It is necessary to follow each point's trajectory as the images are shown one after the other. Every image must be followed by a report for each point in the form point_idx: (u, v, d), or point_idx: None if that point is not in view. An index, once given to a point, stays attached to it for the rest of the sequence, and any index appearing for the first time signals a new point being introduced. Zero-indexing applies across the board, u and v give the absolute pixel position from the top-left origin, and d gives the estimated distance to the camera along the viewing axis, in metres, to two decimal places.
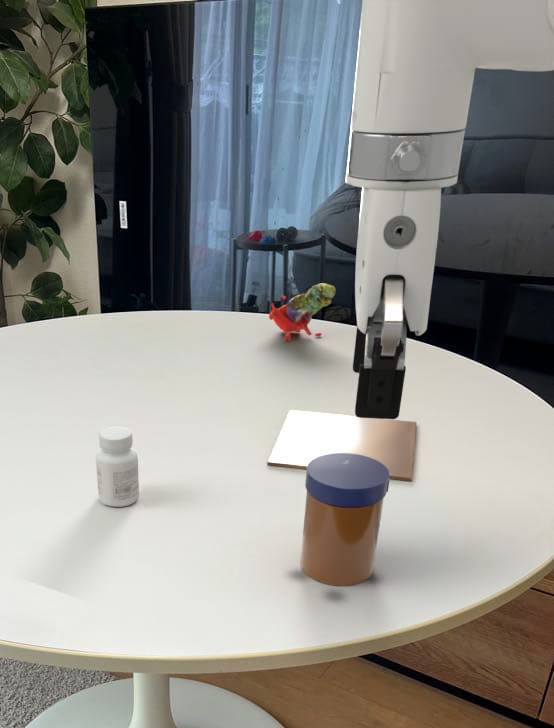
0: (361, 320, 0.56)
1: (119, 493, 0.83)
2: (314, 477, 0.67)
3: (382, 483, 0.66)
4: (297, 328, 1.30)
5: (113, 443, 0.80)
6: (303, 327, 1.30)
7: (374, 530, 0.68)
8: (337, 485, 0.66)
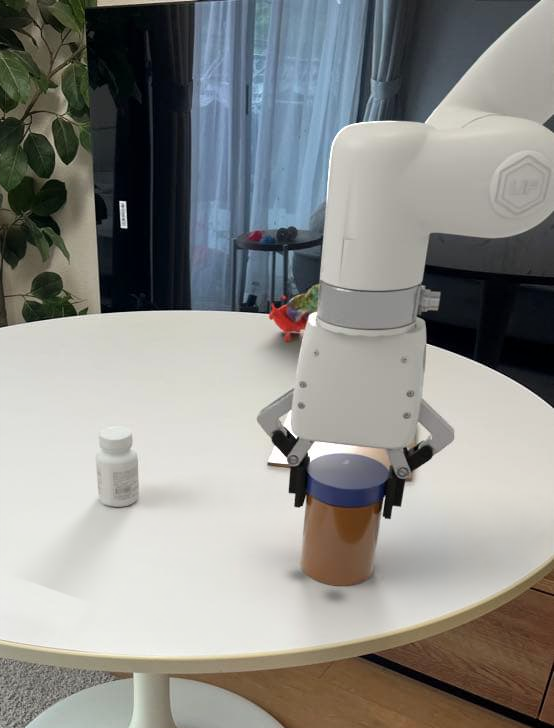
0: (410, 438, 0.63)
1: (119, 493, 0.83)
2: (314, 477, 0.67)
3: (382, 483, 0.66)
4: (297, 328, 1.30)
5: (113, 443, 0.80)
6: (303, 327, 1.30)
7: (374, 530, 0.68)
8: (337, 485, 0.66)
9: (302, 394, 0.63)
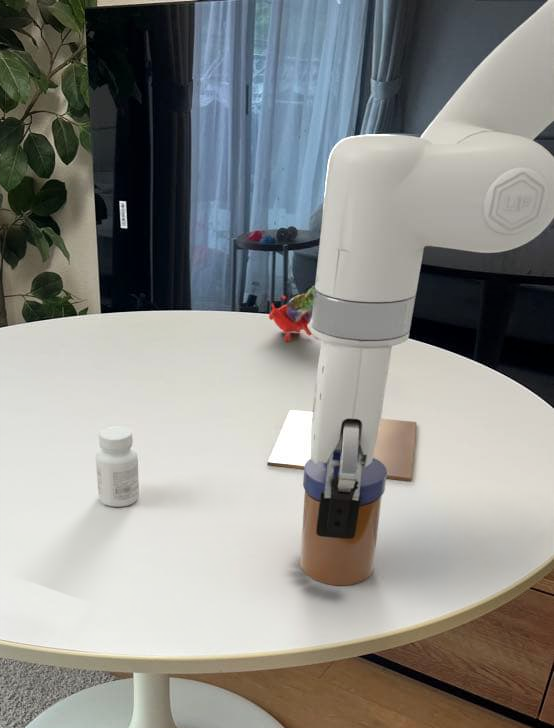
0: None
1: (119, 493, 0.83)
2: (371, 483, 0.65)
3: None
4: (297, 328, 1.30)
5: (113, 443, 0.80)
6: (303, 327, 1.30)
7: (373, 528, 0.68)
8: (381, 472, 0.67)
9: None
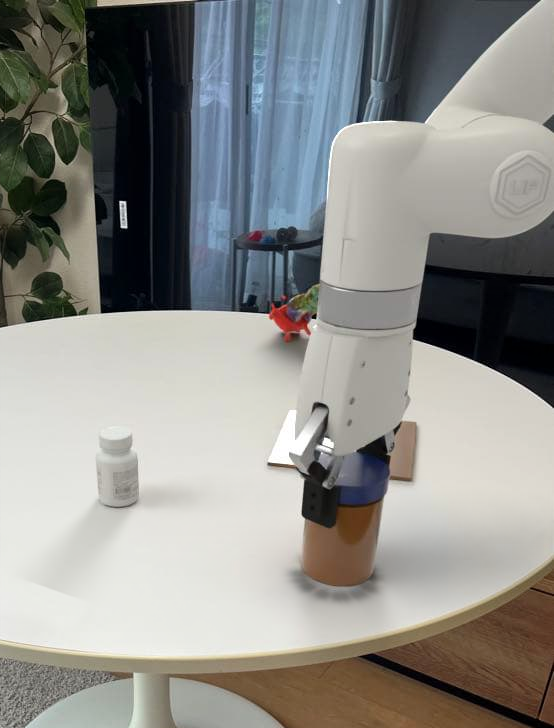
0: None
1: (119, 493, 0.83)
2: (386, 466, 0.68)
3: None
4: (297, 328, 1.30)
5: (113, 443, 0.80)
6: (303, 327, 1.30)
7: (376, 529, 0.69)
8: (369, 457, 0.70)
9: (351, 411, 0.60)
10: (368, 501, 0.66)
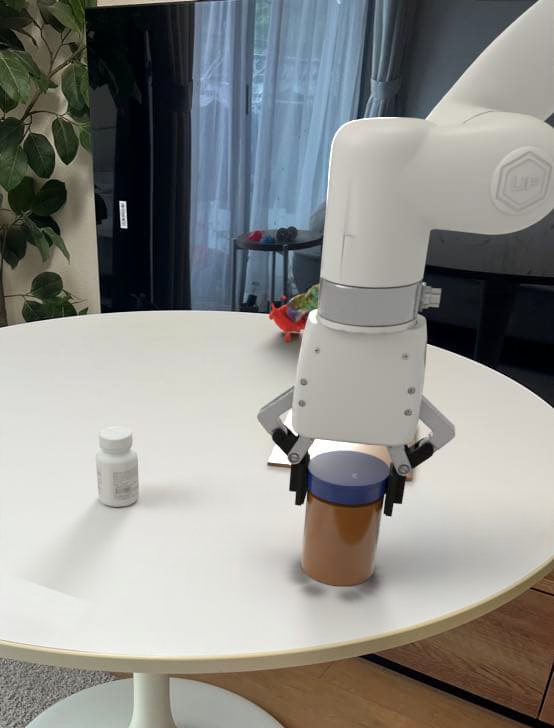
0: (411, 435, 0.63)
1: (119, 493, 0.83)
2: (373, 456, 0.69)
3: (310, 459, 0.69)
4: (297, 328, 1.30)
5: (113, 443, 0.80)
6: (303, 327, 1.30)
7: (376, 529, 0.69)
8: (348, 452, 0.70)
9: (303, 392, 0.63)
10: (384, 493, 0.67)
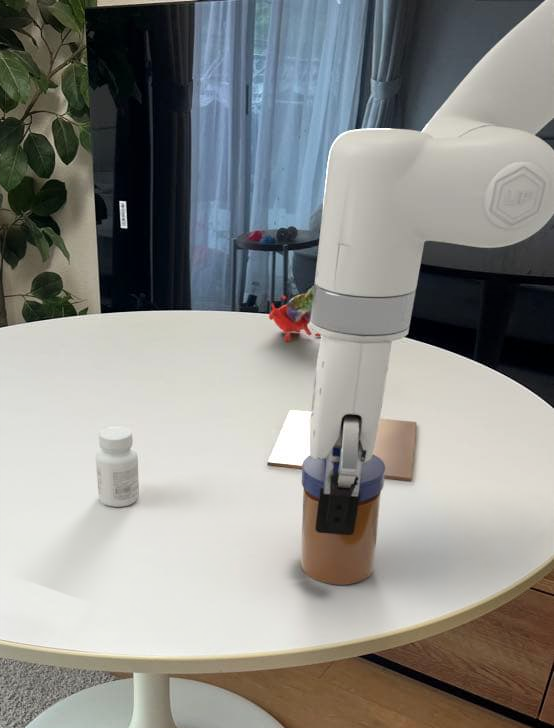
0: None
1: (119, 493, 0.83)
2: None
3: None
4: (297, 328, 1.30)
5: (113, 443, 0.80)
6: (303, 327, 1.30)
7: (373, 526, 0.68)
8: (307, 466, 0.68)
9: None
10: None
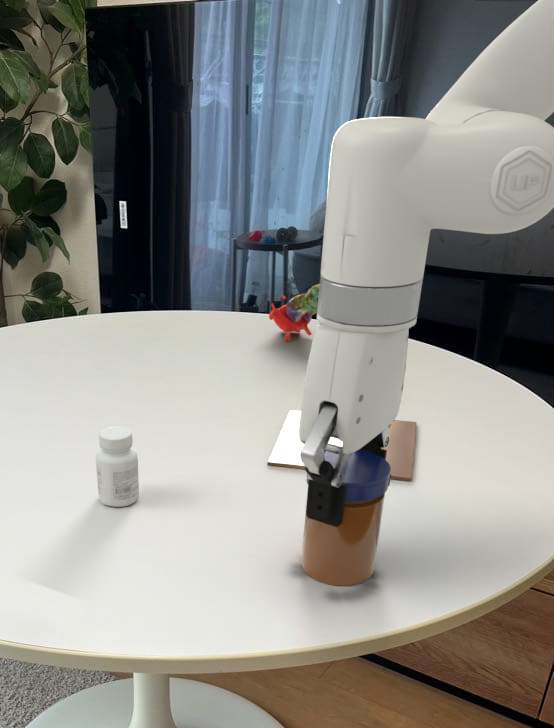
0: None
1: (119, 493, 0.83)
2: None
3: (384, 477, 0.66)
4: (297, 328, 1.30)
5: (113, 443, 0.80)
6: (303, 327, 1.30)
7: (377, 528, 0.69)
8: None
9: (360, 408, 0.60)
10: None
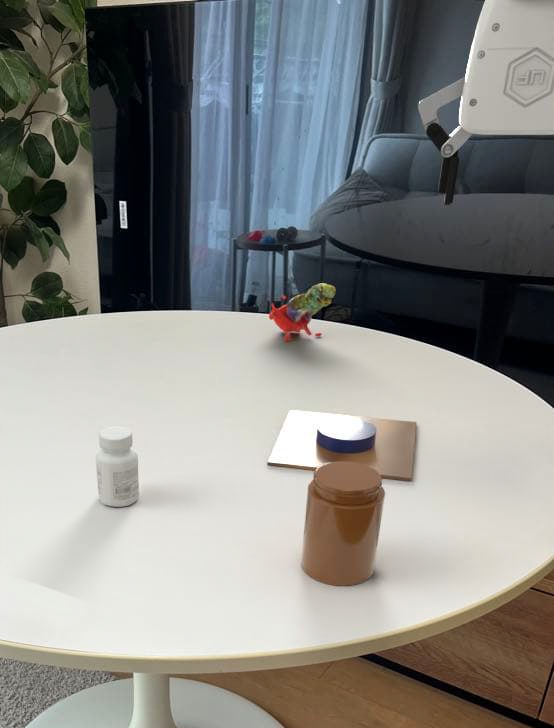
0: None
1: (119, 493, 0.83)
2: (370, 435, 0.92)
3: (352, 417, 0.97)
4: (297, 328, 1.30)
5: (113, 443, 0.80)
6: (303, 327, 1.30)
7: (377, 528, 0.69)
8: (372, 428, 0.94)
9: None
10: (336, 450, 0.93)
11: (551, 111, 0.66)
